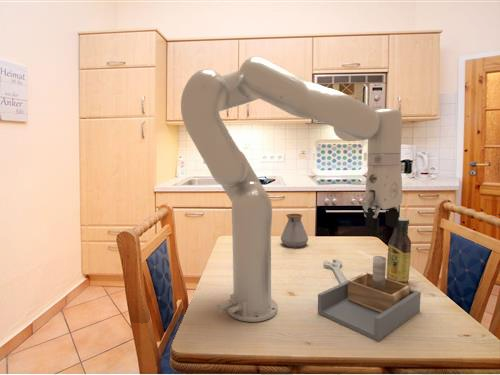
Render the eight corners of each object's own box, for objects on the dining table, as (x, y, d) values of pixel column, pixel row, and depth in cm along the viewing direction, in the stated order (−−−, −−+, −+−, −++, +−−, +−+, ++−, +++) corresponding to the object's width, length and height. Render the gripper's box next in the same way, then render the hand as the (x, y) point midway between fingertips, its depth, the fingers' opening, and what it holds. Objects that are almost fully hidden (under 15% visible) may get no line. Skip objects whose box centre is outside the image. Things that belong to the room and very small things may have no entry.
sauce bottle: (382, 278, 104) (385, 216, 102) (401, 278, 104) (404, 215, 102) (392, 287, 98) (395, 220, 95) (413, 286, 98) (417, 220, 96)
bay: (378, 341, 71) (379, 319, 70) (317, 313, 83) (318, 294, 82) (419, 311, 84) (420, 291, 83) (362, 290, 96) (362, 273, 95)
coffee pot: (282, 240, 147) (282, 207, 146) (308, 241, 145) (309, 207, 143) (276, 256, 127) (276, 217, 125) (306, 257, 124) (307, 218, 123)
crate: (391, 316, 78) (394, 268, 77) (347, 299, 87) (348, 256, 86) (409, 304, 84) (411, 259, 83) (366, 289, 93) (367, 248, 92)
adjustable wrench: (354, 295, 94) (354, 289, 94) (331, 294, 95) (331, 288, 95) (340, 263, 119) (340, 259, 118) (322, 263, 119) (322, 258, 119)
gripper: (380, 163, 73) (378, 239, 75) (415, 159, 84) (413, 226, 86) (350, 162, 79) (349, 233, 81) (386, 159, 90) (385, 221, 92)
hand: (382, 229), depth 84 cm, fingers open, 9 cm apart
